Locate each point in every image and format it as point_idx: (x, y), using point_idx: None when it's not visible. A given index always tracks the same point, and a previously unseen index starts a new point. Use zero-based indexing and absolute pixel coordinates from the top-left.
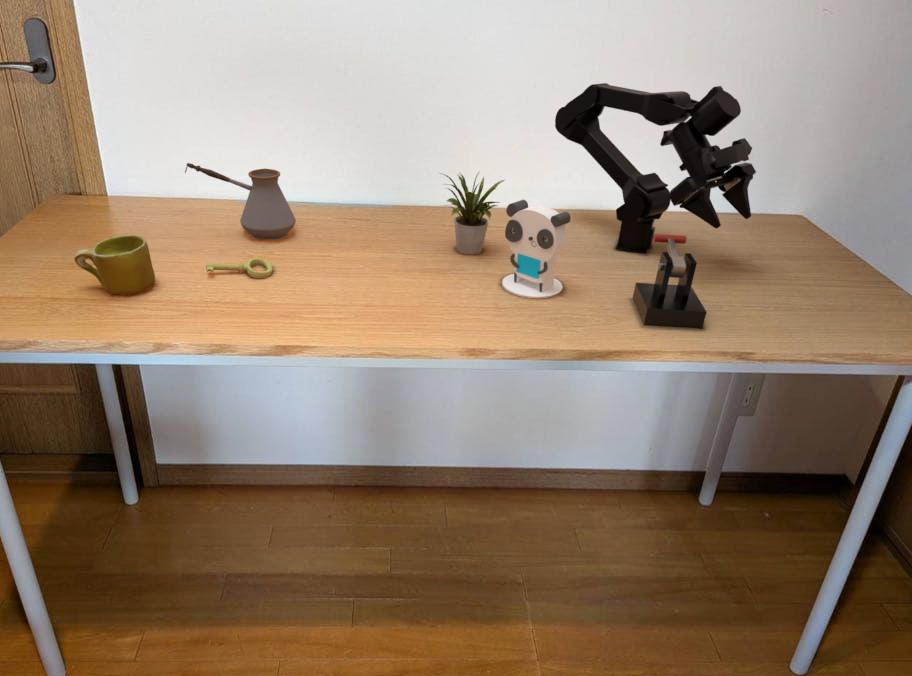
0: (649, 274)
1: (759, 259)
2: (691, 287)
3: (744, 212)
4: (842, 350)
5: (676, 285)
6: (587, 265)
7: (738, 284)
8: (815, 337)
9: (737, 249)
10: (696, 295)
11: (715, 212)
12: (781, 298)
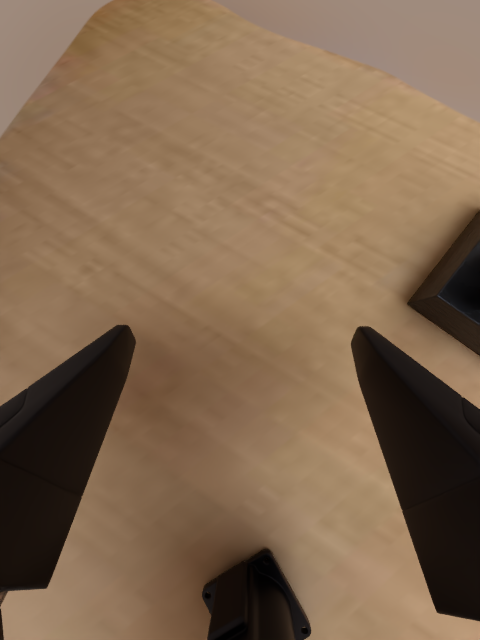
0: (356, 454)
1: None
2: (445, 287)
3: (120, 359)
4: (310, 54)
5: (472, 314)
6: None
7: (222, 308)
8: (306, 99)
9: None
10: (472, 250)
11: (407, 374)
12: (208, 222)
